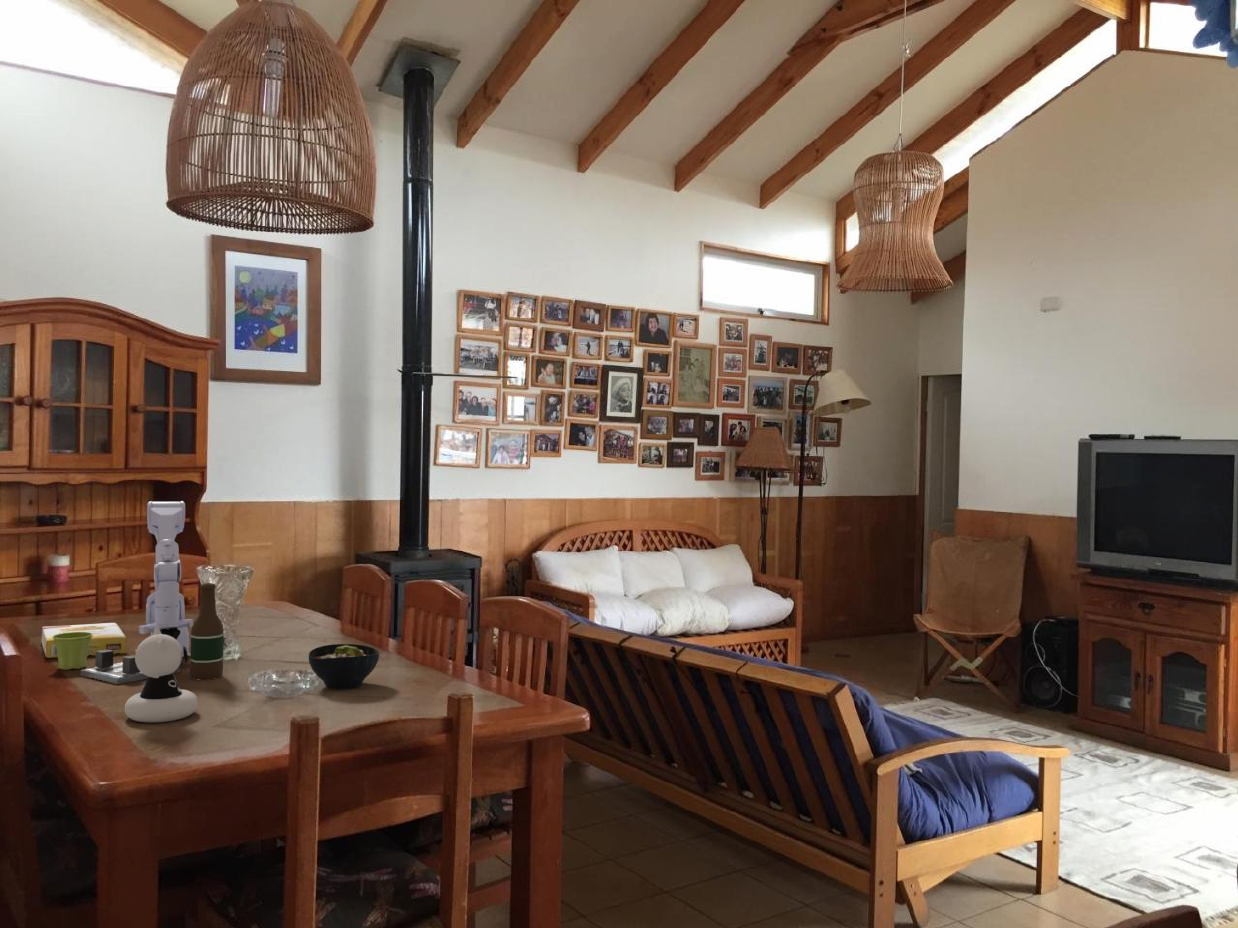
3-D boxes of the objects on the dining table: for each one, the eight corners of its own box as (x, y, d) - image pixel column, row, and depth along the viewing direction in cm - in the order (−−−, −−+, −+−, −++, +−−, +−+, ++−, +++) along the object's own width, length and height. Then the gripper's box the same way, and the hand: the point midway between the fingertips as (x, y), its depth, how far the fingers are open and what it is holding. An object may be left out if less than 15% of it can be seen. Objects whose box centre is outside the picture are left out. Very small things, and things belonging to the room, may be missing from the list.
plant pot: (74, 672, 257) (75, 639, 257) (43, 670, 259) (43, 636, 259) (100, 665, 266) (100, 632, 266) (70, 662, 268) (70, 630, 268)
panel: (142, 664, 268) (143, 643, 268) (179, 672, 260) (179, 650, 260) (80, 675, 254) (81, 653, 254) (117, 684, 245) (117, 660, 245)
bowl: (315, 696, 237) (315, 654, 237) (302, 681, 252) (303, 642, 252) (386, 690, 245) (386, 649, 245) (369, 675, 260) (370, 637, 260)
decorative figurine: (203, 719, 215) (205, 627, 215) (129, 728, 207) (130, 633, 207) (191, 704, 227) (192, 617, 227) (120, 712, 220) (121, 622, 219)
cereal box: (46, 640, 272) (40, 624, 296) (45, 660, 272) (39, 642, 296) (128, 635, 283) (116, 620, 307) (127, 655, 283) (115, 638, 307)
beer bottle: (229, 675, 258) (231, 582, 257) (208, 681, 250) (209, 586, 250) (205, 672, 260) (206, 581, 260) (183, 678, 253) (184, 584, 253)
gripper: (150, 610, 257) (149, 663, 257) (200, 604, 269) (199, 654, 269) (134, 608, 260) (133, 660, 260) (184, 602, 273) (183, 651, 273)
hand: (166, 657), depth 265 cm, fingers closed
